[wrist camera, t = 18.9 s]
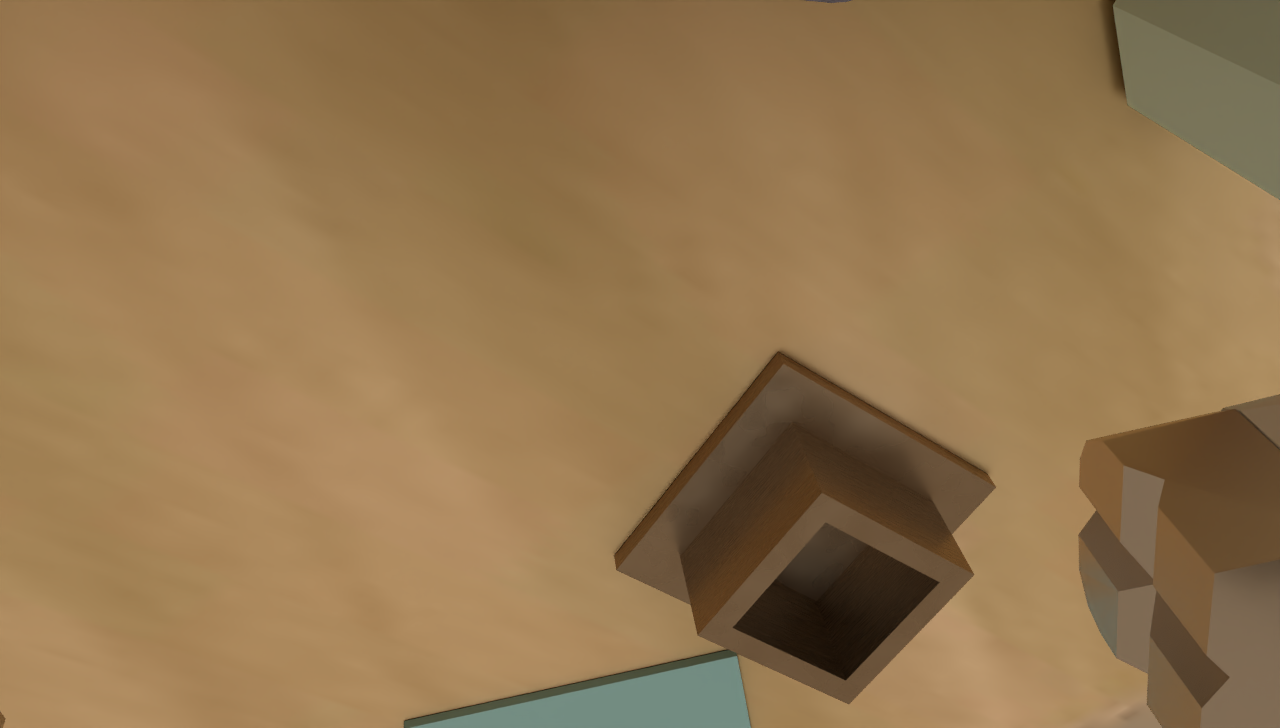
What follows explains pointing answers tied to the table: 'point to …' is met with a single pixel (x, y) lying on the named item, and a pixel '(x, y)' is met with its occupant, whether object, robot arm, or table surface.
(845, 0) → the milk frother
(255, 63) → the table surface
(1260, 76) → the water bottle
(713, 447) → the tan hollow square block
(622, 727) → the teal mat
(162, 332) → the table surface
